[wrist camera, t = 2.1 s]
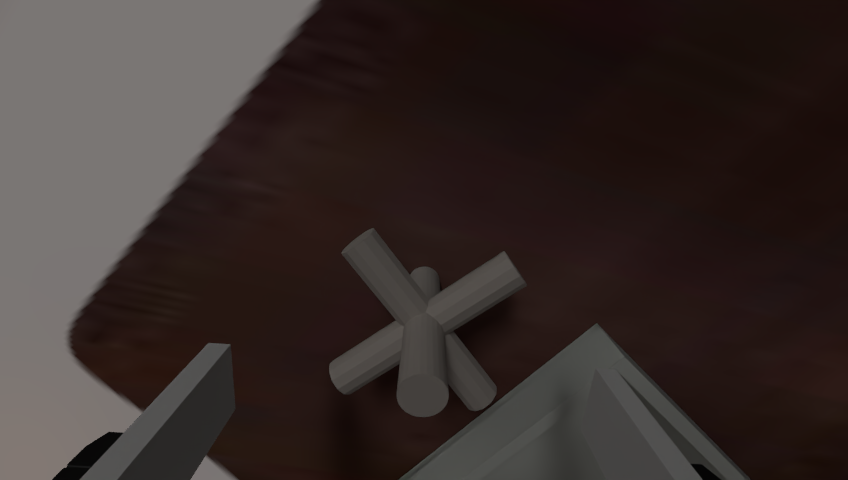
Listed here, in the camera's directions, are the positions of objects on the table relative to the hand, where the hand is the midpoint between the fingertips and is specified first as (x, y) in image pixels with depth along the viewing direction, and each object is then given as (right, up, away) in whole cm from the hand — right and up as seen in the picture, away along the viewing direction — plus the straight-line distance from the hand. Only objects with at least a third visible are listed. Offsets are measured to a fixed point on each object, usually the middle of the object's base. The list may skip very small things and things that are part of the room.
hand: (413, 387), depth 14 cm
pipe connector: (0, +3, +9) cm, 10 cm away
